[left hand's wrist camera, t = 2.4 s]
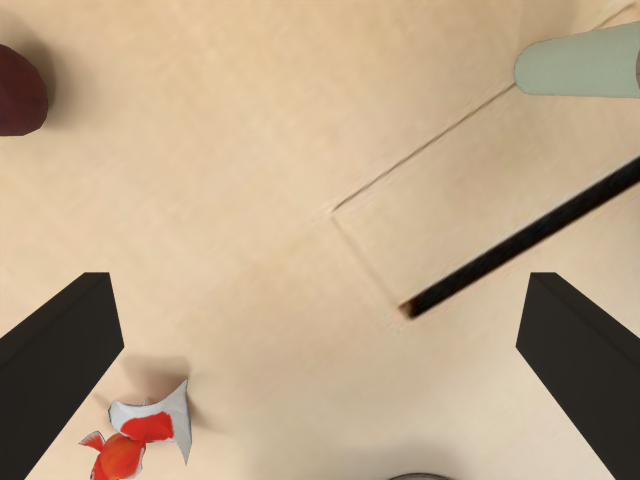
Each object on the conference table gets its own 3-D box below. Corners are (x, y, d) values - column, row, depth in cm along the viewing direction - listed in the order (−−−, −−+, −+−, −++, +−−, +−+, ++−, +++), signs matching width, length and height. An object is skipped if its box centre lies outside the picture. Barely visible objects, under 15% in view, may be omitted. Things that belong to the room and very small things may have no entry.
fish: (37, 427, 45) (36, 506, 37) (157, 334, 48) (179, 390, 41) (105, 462, 51) (116, 536, 44) (206, 378, 55) (233, 433, 47)
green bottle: (563, 36, 35) (771, -9, 19) (563, 88, 37) (757, 88, 20) (512, 48, 35) (674, 15, 19) (515, 99, 37) (667, 109, 21)
